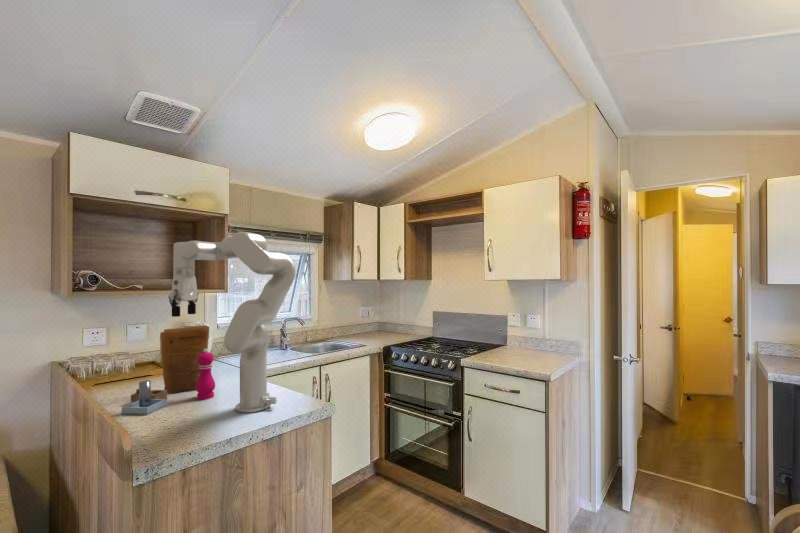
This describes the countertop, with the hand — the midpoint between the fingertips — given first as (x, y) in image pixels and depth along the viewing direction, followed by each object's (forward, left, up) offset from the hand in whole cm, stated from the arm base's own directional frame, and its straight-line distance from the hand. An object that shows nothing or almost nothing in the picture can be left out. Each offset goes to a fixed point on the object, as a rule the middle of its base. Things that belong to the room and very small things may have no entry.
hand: (184, 315), depth 157 cm
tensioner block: (+13, +2, -34) cm, 37 cm away
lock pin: (+8, +11, -34) cm, 36 cm away
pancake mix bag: (+9, -14, -34) cm, 38 cm away
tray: (+8, +11, -34) cm, 37 cm away
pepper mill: (-6, -5, -34) cm, 35 cm away
